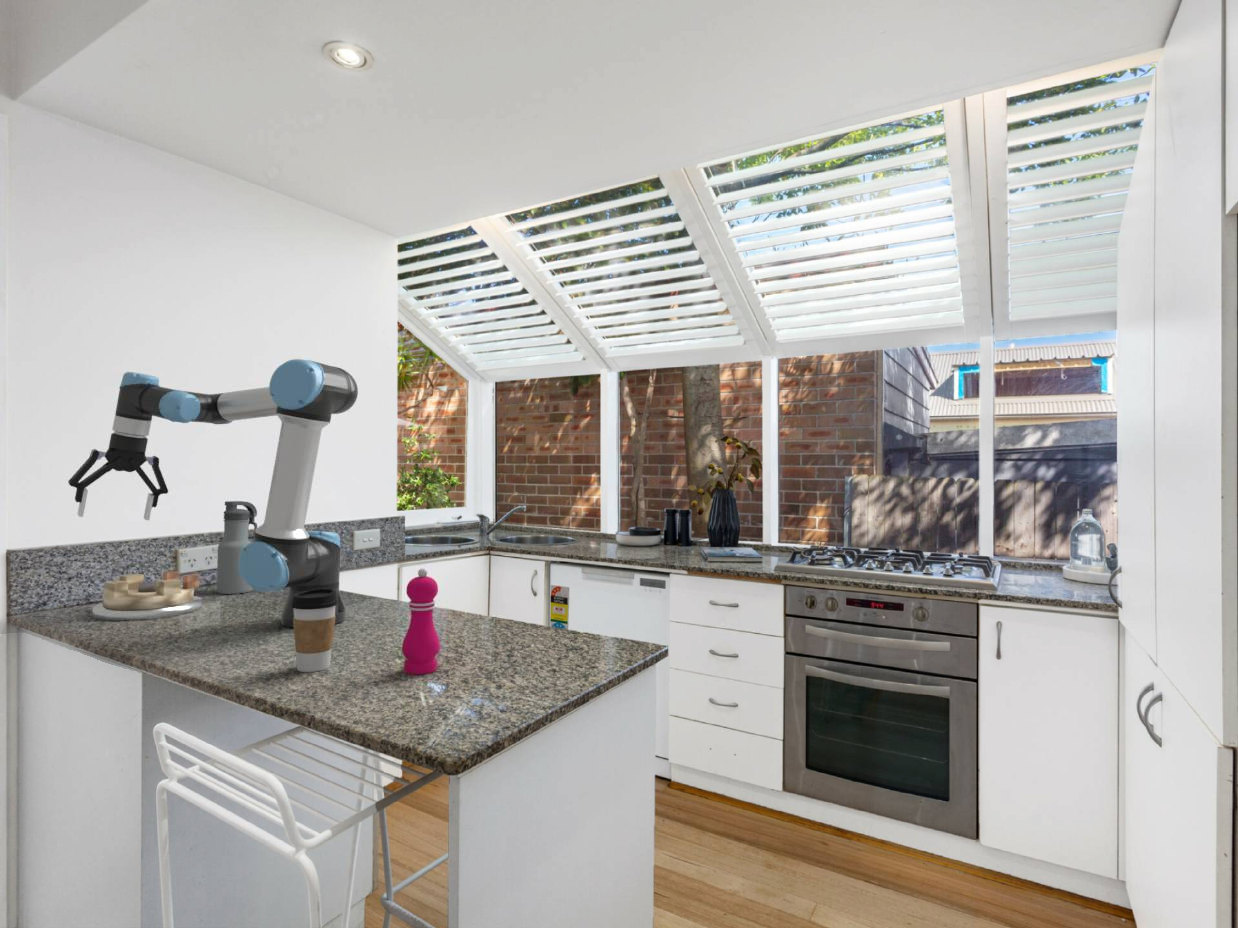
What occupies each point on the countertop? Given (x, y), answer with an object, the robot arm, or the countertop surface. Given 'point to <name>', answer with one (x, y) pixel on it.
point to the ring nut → (149, 591)
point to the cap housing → (146, 611)
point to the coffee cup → (314, 628)
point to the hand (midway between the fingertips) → (114, 517)
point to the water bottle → (234, 547)
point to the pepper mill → (421, 626)
